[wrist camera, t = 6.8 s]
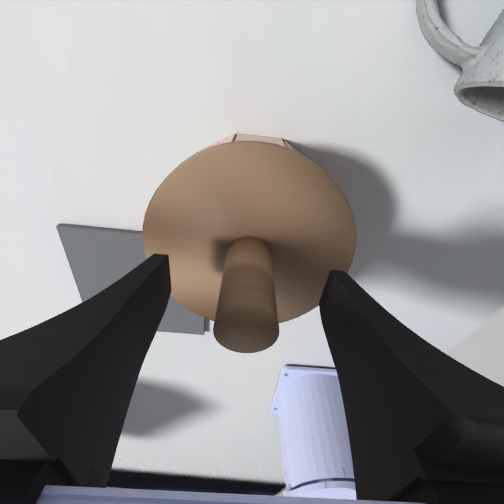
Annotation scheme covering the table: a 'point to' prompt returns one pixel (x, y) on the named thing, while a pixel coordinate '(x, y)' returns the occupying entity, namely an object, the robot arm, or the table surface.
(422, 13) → the ceramic mug
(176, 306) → the mat
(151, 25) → the table surface
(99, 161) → the table surface
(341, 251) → the lid
